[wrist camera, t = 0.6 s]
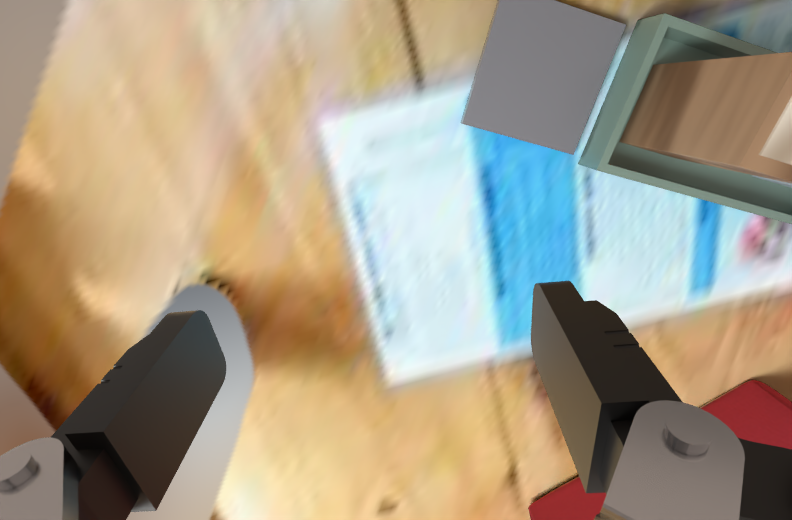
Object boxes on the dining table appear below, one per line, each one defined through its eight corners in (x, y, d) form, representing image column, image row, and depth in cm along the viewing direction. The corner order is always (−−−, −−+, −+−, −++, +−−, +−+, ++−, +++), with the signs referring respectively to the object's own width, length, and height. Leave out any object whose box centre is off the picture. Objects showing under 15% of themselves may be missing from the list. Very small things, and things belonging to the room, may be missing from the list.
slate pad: (460, 123, 31) (462, 123, 30) (502, -15, 28) (505, -17, 27) (569, 153, 32) (573, 154, 32) (621, 26, 29) (626, 24, 28)
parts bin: (578, 163, 32) (596, 170, 30) (637, 20, 29) (664, 13, 26) (798, 224, 36) (832, 235, 33) (876, 102, 32) (921, 103, 30)
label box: (618, 141, 32) (741, 166, 21) (654, 62, 30) (807, 47, 19) (675, 158, 32) (820, 189, 22) (713, 82, 30) (892, 77, 20)
